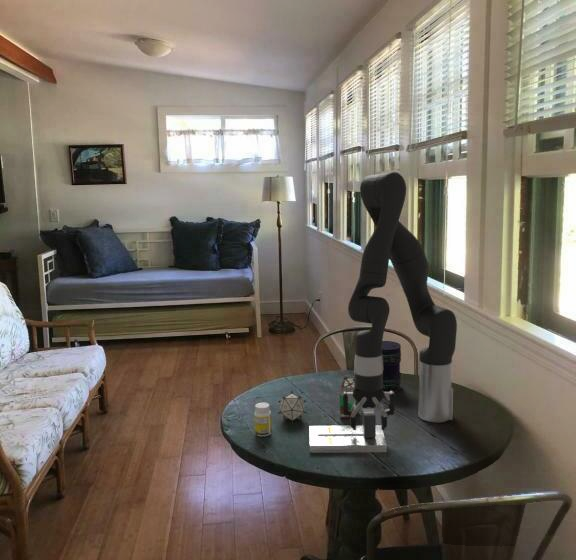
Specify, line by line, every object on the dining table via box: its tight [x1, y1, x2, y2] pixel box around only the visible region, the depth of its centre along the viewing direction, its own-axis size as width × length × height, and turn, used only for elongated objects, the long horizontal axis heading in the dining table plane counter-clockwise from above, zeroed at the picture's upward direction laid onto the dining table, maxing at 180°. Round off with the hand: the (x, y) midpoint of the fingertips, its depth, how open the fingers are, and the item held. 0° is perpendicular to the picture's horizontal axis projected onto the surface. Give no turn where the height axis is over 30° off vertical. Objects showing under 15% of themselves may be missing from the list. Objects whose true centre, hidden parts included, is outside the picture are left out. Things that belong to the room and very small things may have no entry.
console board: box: [308, 424, 388, 454], centre depth 156 cm, size 20×12×2 cm, turn 88°
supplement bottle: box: [253, 402, 273, 437], centre depth 162 cm, size 5×5×8 cm
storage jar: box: [382, 340, 402, 393], centre depth 194 cm, size 10×10×15 cm
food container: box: [339, 374, 360, 420], centre depth 174 cm, size 12×6×10 cm, turn 168°
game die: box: [277, 390, 307, 424], centre depth 171 cm, size 9×8×10 cm
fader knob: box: [361, 408, 377, 438], centre depth 155 cm, size 3×5×6 cm, turn 178°
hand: (368, 428), depth 155 cm, fingers open, 7 cm apart
